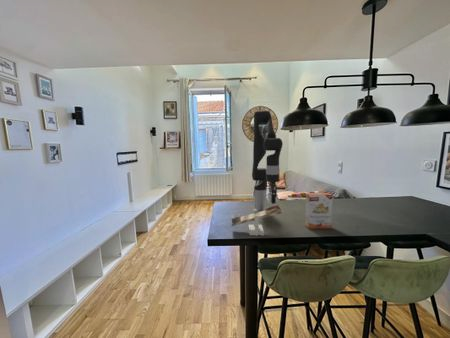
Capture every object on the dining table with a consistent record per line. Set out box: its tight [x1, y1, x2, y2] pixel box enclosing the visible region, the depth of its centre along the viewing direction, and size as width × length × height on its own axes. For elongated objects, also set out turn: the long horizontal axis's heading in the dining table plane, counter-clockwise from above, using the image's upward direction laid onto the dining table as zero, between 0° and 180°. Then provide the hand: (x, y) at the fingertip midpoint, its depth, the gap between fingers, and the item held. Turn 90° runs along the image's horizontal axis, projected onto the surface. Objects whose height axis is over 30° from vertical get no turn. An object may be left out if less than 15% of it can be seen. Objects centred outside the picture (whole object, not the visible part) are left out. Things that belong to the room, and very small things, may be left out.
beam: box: [230, 204, 282, 227], centre depth 127 cm, size 29×9×4 cm, turn 86°
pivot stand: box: [248, 208, 265, 237], centre depth 127 cm, size 8×13×12 cm, turn 176°
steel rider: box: [267, 192, 279, 205], centre depth 125 cm, size 5×5×5 cm
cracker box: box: [304, 192, 334, 230], centre depth 130 cm, size 14×6×21 cm, turn 91°
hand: (272, 201), depth 126 cm, fingers closed on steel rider, 5 cm apart
